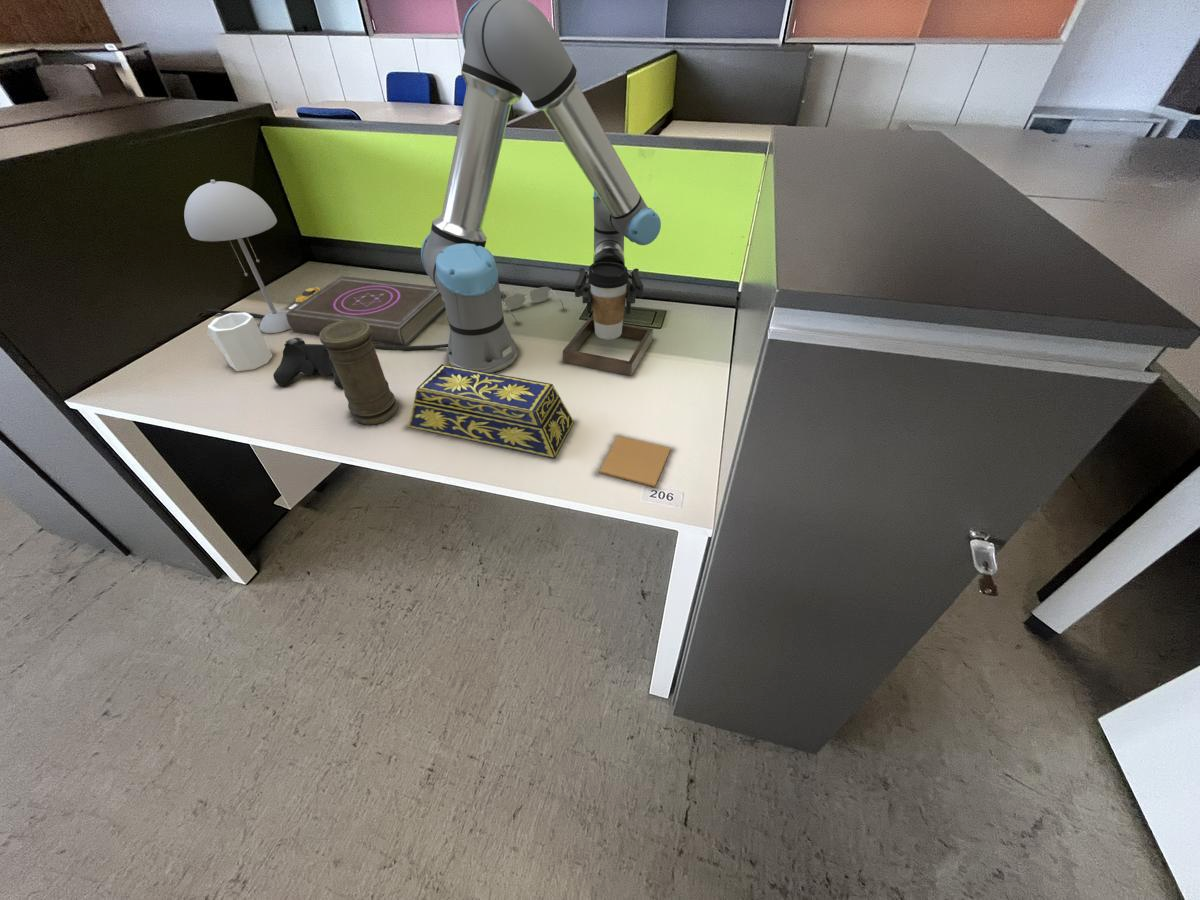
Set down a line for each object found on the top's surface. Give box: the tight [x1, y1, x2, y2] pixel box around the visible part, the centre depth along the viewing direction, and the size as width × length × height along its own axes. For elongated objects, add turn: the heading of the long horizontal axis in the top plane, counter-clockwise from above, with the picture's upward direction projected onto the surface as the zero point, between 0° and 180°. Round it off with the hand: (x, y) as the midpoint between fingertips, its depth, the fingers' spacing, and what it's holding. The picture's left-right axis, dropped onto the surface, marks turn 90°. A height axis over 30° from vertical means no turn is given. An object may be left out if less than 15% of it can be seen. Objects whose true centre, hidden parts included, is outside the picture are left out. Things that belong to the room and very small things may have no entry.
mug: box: [206, 311, 273, 372], centre depth 114 cm, size 12×9×10 cm
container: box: [319, 320, 399, 426], centre depth 97 cm, size 9×9×18 cm
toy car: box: [287, 286, 322, 310], centre depth 138 cm, size 4×8×2 cm, turn 164°
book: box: [286, 275, 446, 346], centre depth 130 cm, size 30×22×5 cm
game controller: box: [272, 336, 343, 389], centre depth 110 cm, size 16×7×10 cm, turn 86°
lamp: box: [183, 179, 292, 334], centre depth 119 cm, size 17×17×33 cm
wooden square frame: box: [562, 317, 654, 377], centre depth 118 cm, size 16×16×3 cm
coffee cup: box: [587, 262, 630, 340], centre depth 111 cm, size 8×8×15 cm
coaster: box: [598, 435, 671, 488], centre depth 92 cm, size 10×10×1 cm
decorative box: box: [408, 363, 575, 459], centre depth 97 cm, size 11×30×9 cm, turn 72°
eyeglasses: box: [501, 286, 565, 325], centre depth 133 cm, size 14×8×4 cm, turn 122°
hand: (608, 307), depth 107 cm, fingers closed on coffee cup, 7 cm apart
